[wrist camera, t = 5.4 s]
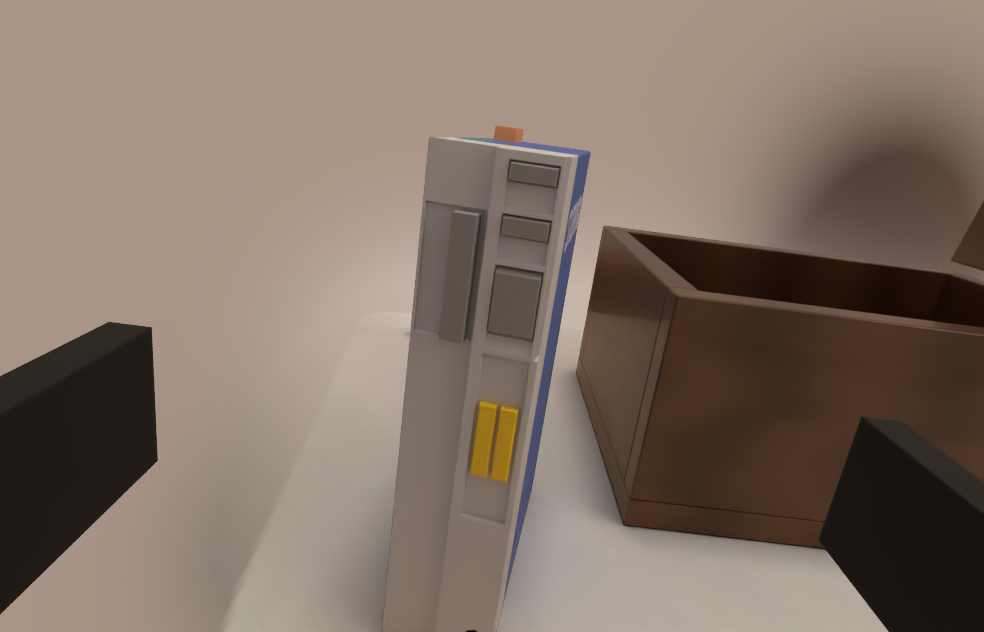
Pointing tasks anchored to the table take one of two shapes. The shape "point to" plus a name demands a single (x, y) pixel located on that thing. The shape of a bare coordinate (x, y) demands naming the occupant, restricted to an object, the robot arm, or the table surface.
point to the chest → (767, 376)
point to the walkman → (478, 372)
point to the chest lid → (972, 243)
